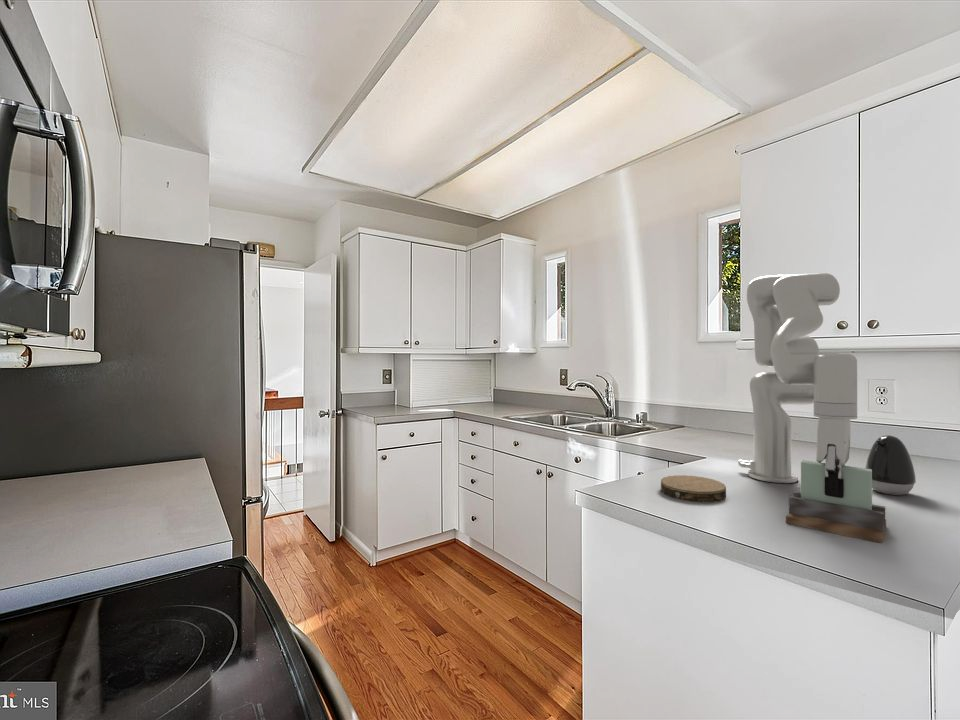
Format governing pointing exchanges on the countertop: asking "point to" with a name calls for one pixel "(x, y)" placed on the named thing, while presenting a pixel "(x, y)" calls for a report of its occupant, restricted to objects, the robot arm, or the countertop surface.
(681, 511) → the countertop surface
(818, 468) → the door panel
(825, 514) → the track board
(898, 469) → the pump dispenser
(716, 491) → the brown flat round disc
